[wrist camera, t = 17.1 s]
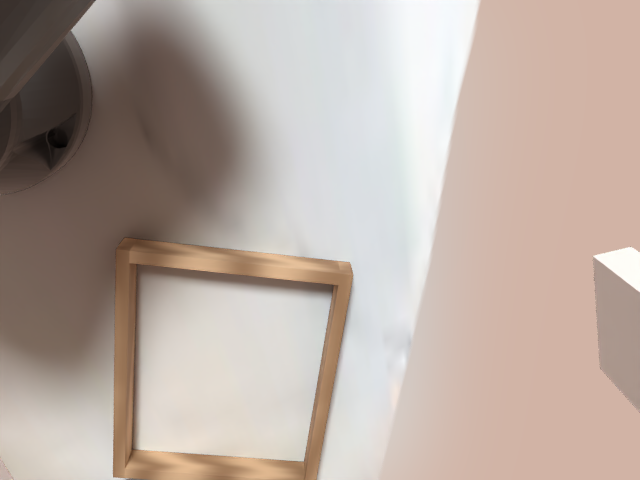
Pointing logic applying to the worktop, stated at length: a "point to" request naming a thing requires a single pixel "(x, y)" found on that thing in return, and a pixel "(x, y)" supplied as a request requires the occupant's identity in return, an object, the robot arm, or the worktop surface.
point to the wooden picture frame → (158, 467)
